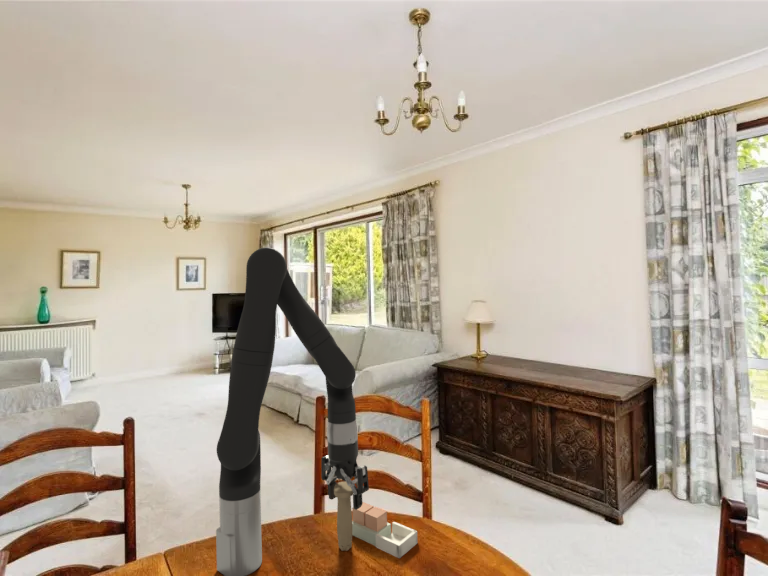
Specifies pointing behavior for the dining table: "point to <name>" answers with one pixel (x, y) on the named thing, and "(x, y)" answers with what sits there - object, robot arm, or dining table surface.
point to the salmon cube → (376, 519)
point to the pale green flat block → (369, 532)
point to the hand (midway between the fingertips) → (345, 502)
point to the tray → (397, 540)
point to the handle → (344, 515)
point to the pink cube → (361, 513)
